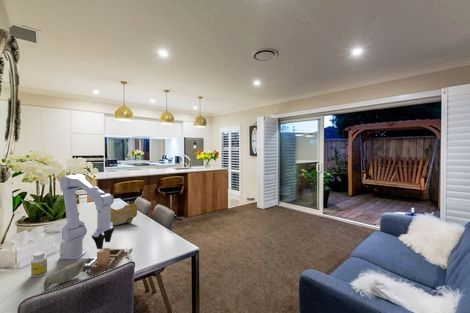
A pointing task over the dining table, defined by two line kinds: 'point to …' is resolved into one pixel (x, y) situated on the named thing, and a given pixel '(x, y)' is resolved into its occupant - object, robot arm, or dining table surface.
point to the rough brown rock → (123, 214)
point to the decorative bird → (65, 274)
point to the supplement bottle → (38, 264)
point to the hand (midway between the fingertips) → (103, 245)
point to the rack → (114, 259)
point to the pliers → (128, 254)
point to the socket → (92, 259)
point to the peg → (103, 256)
